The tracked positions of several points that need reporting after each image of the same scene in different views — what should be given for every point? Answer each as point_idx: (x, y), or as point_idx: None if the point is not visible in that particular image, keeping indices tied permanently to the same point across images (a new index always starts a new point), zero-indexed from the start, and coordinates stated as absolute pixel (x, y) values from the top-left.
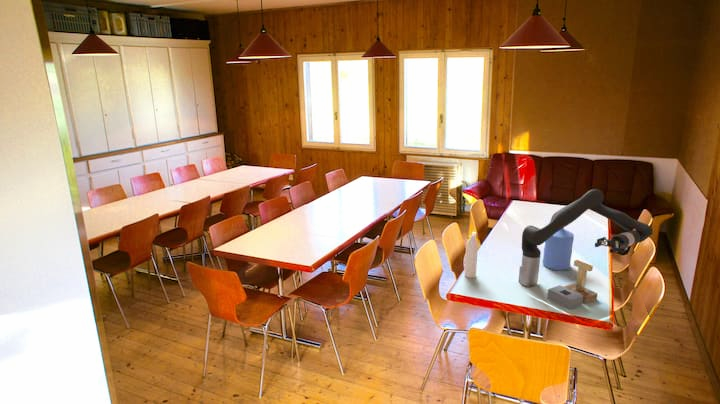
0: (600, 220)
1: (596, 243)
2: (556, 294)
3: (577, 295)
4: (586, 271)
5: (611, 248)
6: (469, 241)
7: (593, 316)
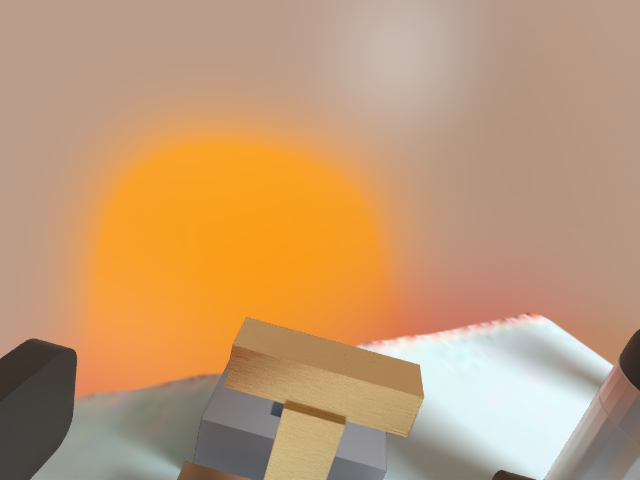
0: None
1: (516, 476)
2: None
3: (233, 404)
4: (278, 429)
5: (32, 366)
6: None
7: (104, 412)
